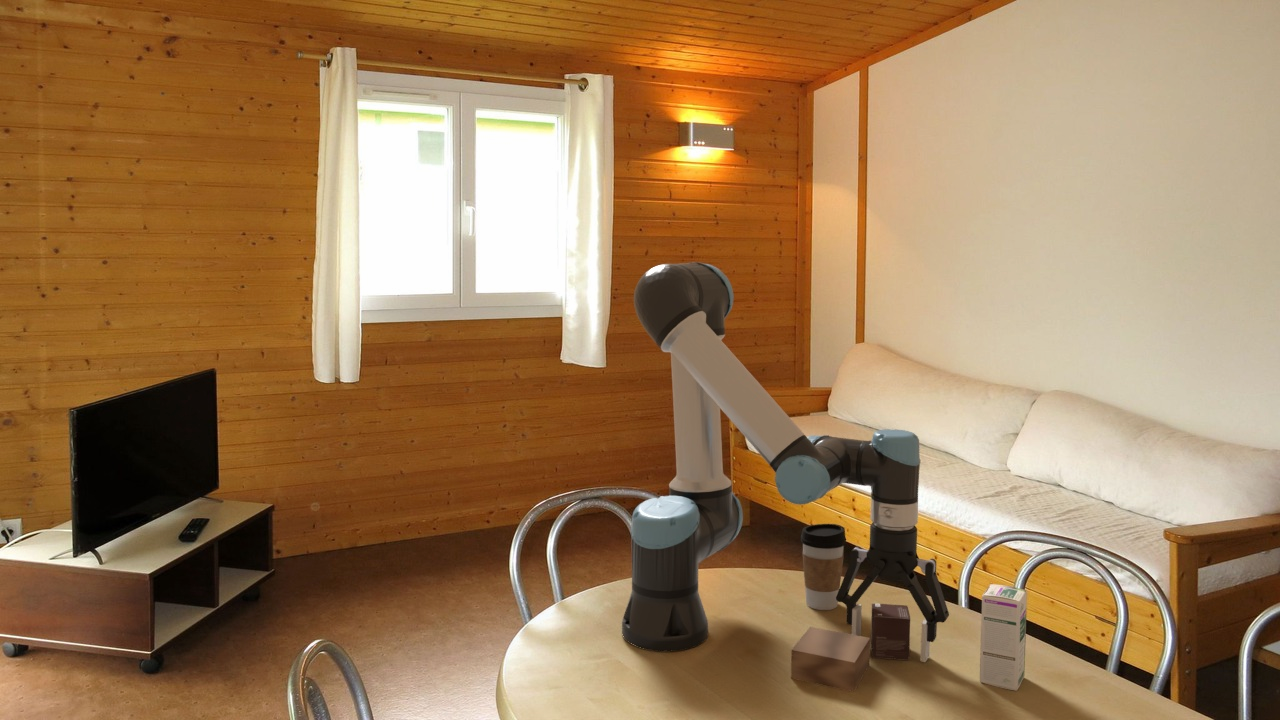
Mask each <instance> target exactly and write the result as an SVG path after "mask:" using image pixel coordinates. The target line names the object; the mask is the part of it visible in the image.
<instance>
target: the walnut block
mask: <svg viewBox="0 0 1280 720" xmlns="http://www.w3.org/2000/svg"><path fill="white" fill-rule="evenodd" d="M790 651H791V656H790V658H791V662H790V667H791V668H790V679H794V680H798V681H802V682H806V683H810V684H811V683H812V684H816V685H819V686H820V685H821V686H824V687H829V688H835V689H839V690H842V691H848V692H853V693H854V692H855V691H856V689H857V688H858V686H859V684H860V682H861V680H862V679H863V677H864V675H865V674H866V672H867V671H868V669H869V667H870V663H871V662H870V659H871V658H870V655H871V637H868V636H862V635H861V636H857V635H852V633H846V632H841V631H835V630H830V629H825V628H820V627H815V626H809V628H808V629H807V630H806V631H805V632H804V634H803V635H802V636H801V637H800V638H799V639H798V641H797V642H796V644H795V645H794V646H793V647H792V648H791V650H790Z"/></svg>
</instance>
